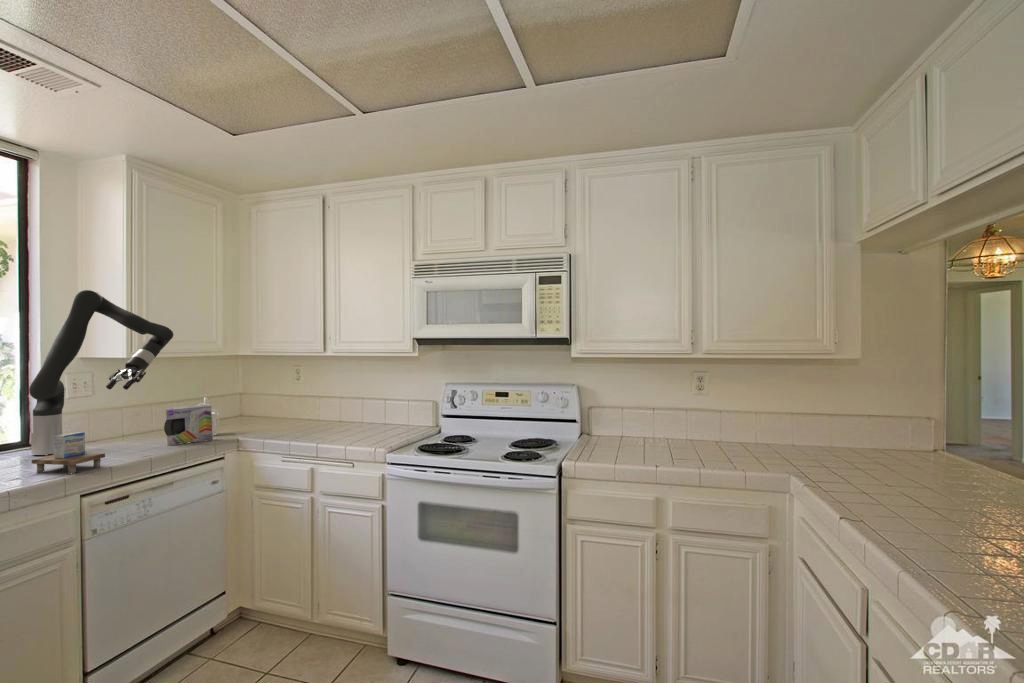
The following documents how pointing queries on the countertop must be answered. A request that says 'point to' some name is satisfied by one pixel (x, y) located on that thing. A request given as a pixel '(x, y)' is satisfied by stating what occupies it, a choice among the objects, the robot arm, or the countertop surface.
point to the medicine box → (69, 445)
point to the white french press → (206, 402)
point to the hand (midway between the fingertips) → (116, 388)
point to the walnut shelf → (68, 461)
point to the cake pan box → (188, 424)
